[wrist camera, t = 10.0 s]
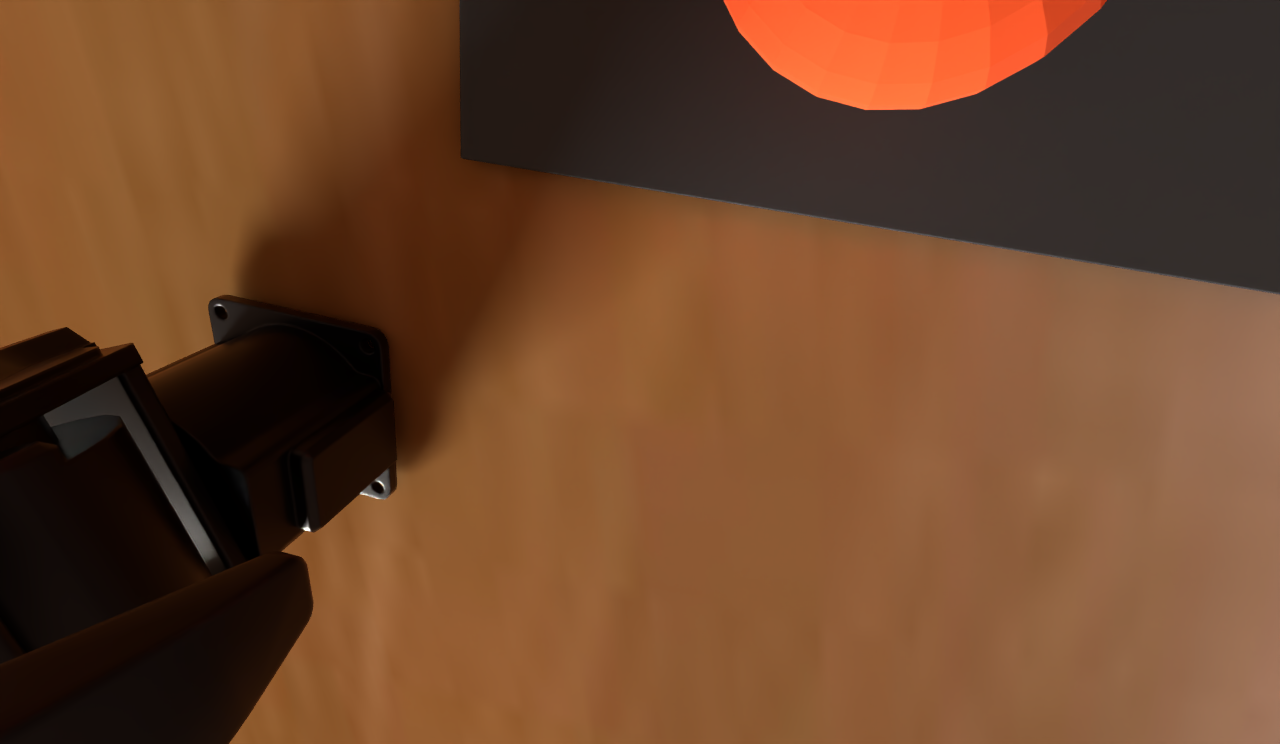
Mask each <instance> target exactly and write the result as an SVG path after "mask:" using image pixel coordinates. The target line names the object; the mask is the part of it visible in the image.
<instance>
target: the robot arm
mask: <svg viewBox="0 0 1280 744" xmlns="http://www.w3.org/2000/svg"><path fill="white" fill-rule="evenodd" d="M208 308H209V315H210V321H211V326H212V331H213V337H214V342H215V344H214V345H211V346H209V347H207V348H205V349H202V350H200V351H198V352H196V353H194V354H191V355H189V356H187V357H185V358H183V359H180V360H178V361H176V362H174V363H171V364H169V365H167V366H165V367H163V368H160V369H158V370H156V371H154V372H151V373H149V374H147V375H146V374H145V373H144V371H143V369H142V367H141V365H140V364H142V363H143V360H142V359H141V357H140V355H139V353H138V351H137V349H136V348H135V346H134V344H133V343H129V344H124V345H119V346H114V347H110V348H105V349H99V347H98V346H96V344H95V342H93V343H90V342H89V341H87V340H86V339H84V338H83V337H81V336H79V335H78V334H76V333H75V332H73V331H72V330H70V329H69V328H67V327H65V328H61V329H56V330H52V331H49V332H46V333H43V334H40V335H37V336H34V337H31V338H28V339H25V340H22V341H19V342H16V343H13V344H11V345H8V346H5V347H2V348H0V744H229V743H230V741H231V740H232V739H233V737H234V736H235V734H236V733H237V732H238V730H239V729H240V727H241V726H242V724H243V723H244V722H245V720H246V719H247V717H248V716H249V714H250V713H251V711H252V710H253V708H254V706H255V705H256V703H257V702H258V700H259V699H260V697H261V695H262V694H263V692H264V691H265V689H266V688H267V686H268V684H269V683H270V681H271V680H272V678H273V677H274V675H275V674H276V672H277V670H278V669H279V667H280V666H281V664H282V663H283V661H284V659H285V658H286V656H287V655H288V653H289V652H290V650H291V648H292V647H293V645H294V644H295V642H296V641H297V639H298V637H299V636H300V634H301V633H302V631H303V630H304V628H305V626H306V625H307V623H308V621H309V619H310V617H311V614H312V611H313V597H312V591H311V585H310V579H309V573H308V568H307V564H306V562H305V561H304V559H303V558H301V557H299V556H296V555H292V554H288V553H284V552H281V551H282V550H284V549H285V548H286V547H287V546H288V545H289V544H290V543H292V542H293V541H294V540H295V539H296V538H297V537H298V536H300V535H301V534H302V533H303V532H304V531H305V530H307V531H310V532H316V531H318V530H319V529H320V528H322V527H323V526H324V525H326V524H327V523H328V522H329V521H330V520H331V519H332V518H333V517H334V516H336V515H337V514H338V513H339V512H340V511H341V510H342V509H343V508H344V507H346V506H347V505H348V504H349V503H350V502H351V501H352V500H353V499H354V498H356V497H357V496H358V495H359V494H363V495H366V496H370V497H374V498H377V499H386V498H388V497H389V496H390V495H391V494H392V493H393V492H394V491H395V490H396V488H397V477H396V460H397V454H396V437H395V421H394V404H393V399H392V395H391V379H390V362H389V346H388V341H387V338H386V337H385V335H384V334H383V333H382V332H381V331H380V330H378V329H376V328H374V327H369V326H365V325H360V324H356V323H351V322H347V321H342V320H338V319H333V318H329V317H324V316H320V315H316V314H311V313H307V312H302V311H298V310H293V309H289V308H284V307H280V306H275V305H271V304H266V303H262V302H257V301H253V300H249V299H244V298H240V297H235V296H231V295H222V296H220V297H217V298H214V299H212V300H211V301H210V303H209V305H208ZM225 310H226V311H227V312H226V311H225ZM368 340H370V341H371V342H372V343H373V346H374V348H372V347H371V346H370V345H369V343H368ZM380 483H381V484H382V485H383V486H382V485H381V484H380Z"/></svg>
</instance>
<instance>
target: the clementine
mask: <svg viewBox="0 0 1280 744" xmlns="http://www.w3.org/2000/svg"><path fill="white" fill-rule="evenodd" d="M1106 1H1107V0H724V2H725V4H726V6H727V8H728V10H729V13H730V15H731V17H732V19H733V21H734V23H735V25H736V27H737V29H738V31H739V32H740V33H741V35H742V36H743V37H744V38H745V39H746V40H747V41H748V42H749V43H750V45H751V46H752V47H753V48H754V49H755V50H756V51H757V52H758V53H759V55H760V56H761V57H762V58H763V59H764V60H765V61H766V62H767V63H768V65H769V66H770V67H771V68H772V69H773V70H774V71H776V72H777V73H779V74H781V75H782V76H784V77H785V78H787V79H789V80H790V81H792V82H794V83H795V84H797V85H798V86H800V87H802V88H803V89H805V90H807V91H808V92H810V93H811V94H813V95H815V96H816V97H820V98H824V99H827V100H831V101H835V102H839V103H842V104H846V105H850V106H853V107H857V108H861V109H864V110H894V109H922V108H926V107H930V106H933V105H937V104H941V103H945V102H948V101H952V100H956V99H959V98H963V97H967V96H970V95H974V94H977V93H979V92H981V91H983V90H985V89H987V88H988V87H990V86H992V85H994V84H996V83H998V82H1000V81H1001V80H1003V79H1005V78H1007V77H1009V76H1011V75H1012V74H1014V73H1016V72H1018V71H1020V70H1022V69H1024V68H1025V67H1027V66H1029V65H1031V64H1033V63H1035V62H1036V61H1038V60H1040V59H1041V58H1043V57H1045V56H1046V55H1047V54H1048V53H1049V52H1050V51H1052V50H1053V49H1054V48H1055V47H1056V46H1057V45H1059V44H1060V43H1061V42H1062V41H1063V40H1064V39H1066V38H1067V37H1068V36H1069V35H1070V34H1072V33H1073V32H1074V31H1075V30H1076V29H1077V28H1079V27H1080V26H1081V25H1082V24H1083V23H1084V22H1086V21H1087V20H1088V19H1089V18H1090V17H1091V16H1093V15H1094V14H1095V13H1096V12H1097V11H1099V10H1100V9H1101V8H1102V6H1103V5H1104V4H1105V2H1106Z"/></svg>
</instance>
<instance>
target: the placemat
mask: <svg viewBox="0 0 1280 744" xmlns="http://www.w3.org/2000/svg"><path fill="white" fill-rule="evenodd" d="M460 113H461V158H463V159H468V160H474V161H480V162H486V163H492V164H498V165H504V166H510V167H516V168H522V169H528V170H534V171H540V172H546V173H552V174H558V175H564V176H570V177H576V178H582V179H588V180H594V181H600V182H606V183H612V184H618V185H624V186H630V187H636V188H642V189H648V190H654V191H660V192H666V193H672V194H678V195H684V196H690V197H696V198H702V199H708V200H714V201H721V202H727V203H733V204H739V205H745V206H751V207H757V208H763V209H769V210H775V211H781V212H787V213H793V214H799V215H805V216H811V217H817V218H823V219H829V220H835V221H841V222H847V223H853V224H859V225H865V226H871V227H877V228H883V229H889V230H895V231H901V232H907V233H913V234H919V235H925V236H931V237H937V238H943V239H949V240H955V241H961V242H967V243H973V244H979V245H985V246H991V247H997V248H1003V249H1009V250H1015V251H1021V252H1027V253H1033V254H1039V255H1045V256H1051V257H1058V258H1064V259H1070V260H1076V261H1082V262H1088V263H1094V264H1100V265H1106V266H1112V267H1118V268H1124V269H1130V270H1136V271H1142V272H1148V273H1154V274H1160V275H1166V276H1172V277H1178V278H1184V279H1190V280H1196V281H1202V282H1208V283H1214V284H1220V285H1226V286H1232V287H1238V288H1244V289H1250V290H1256V291H1262V292H1268V293H1274V294H1280V0H1107V1H1106V2H1105V4H1104V5H1103V6H1102V8H1101V9H1100V10H1099V11H1097V12H1096V13H1095V14H1094V15H1093V16H1091V17H1090V18H1089V19H1088V20H1087V21H1086V22H1084V23H1083V24H1082V25H1081V26H1080V27H1079V28H1077V29H1076V30H1075V31H1074V32H1073V33H1072V34H1070V35H1069V36H1068V37H1067V38H1066V39H1064V40H1063V41H1062V42H1061V43H1060V44H1059V45H1057V46H1056V47H1055V48H1054V49H1053V50H1052V51H1050V52H1049V53H1048V54H1047V55H1046V56H1045V57H1043V58H1041V59H1040V60H1038V61H1036V62H1035V63H1033V64H1031V65H1029V66H1027V67H1025V68H1024V69H1022V70H1020V71H1018V72H1016V73H1014V74H1012V75H1011V76H1009V77H1007V78H1005V79H1003V80H1001V81H1000V82H998V83H996V84H994V85H992V86H990V87H988V88H987V89H985V90H983V91H981V92H979V93H977V94H974V95H970V96H967V97H963V98H959V99H956V100H952V101H948V102H945V103H941V104H937V105H933V106H930V107H926V108H922V109H894V110H864V109H861V108H857V107H853V106H850V105H846V104H842V103H839V102H835V101H831V100H827V99H824V98H820V97H816V96H815V95H813V94H811V93H810V92H808V91H807V90H805V89H803V88H802V87H800V86H798V85H797V84H795V83H794V82H792V81H790V80H789V79H787V78H785V77H784V76H782V75H781V74H779V73H777V72H776V71H774V70H773V69H772V68H771V67H770V66H769V65H768V63H767V62H766V61H765V60H764V59H763V58H762V57H761V56H760V55H759V53H758V52H757V51H756V50H755V49H754V48H753V47H752V46H751V45H750V43H749V42H748V41H747V40H746V39H745V38H744V37H743V36H742V35H741V33H740V32H739V31H738V29H737V27H736V25H735V23H734V21H733V19H732V17H731V15H730V13H729V10H728V8H727V6H726V4H725V2H724V0H460Z"/></svg>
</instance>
